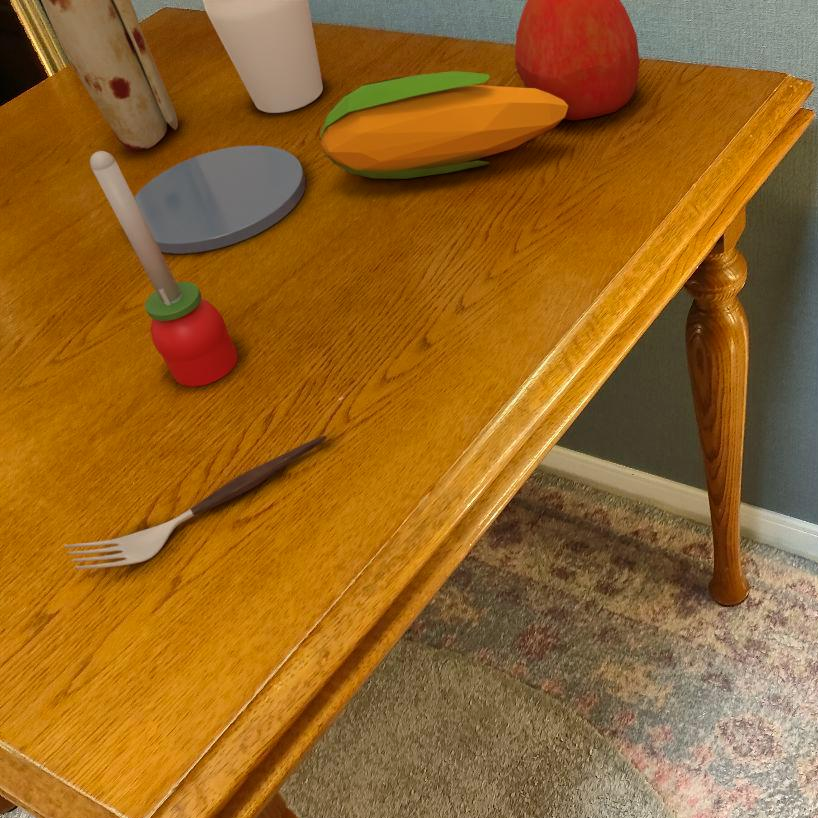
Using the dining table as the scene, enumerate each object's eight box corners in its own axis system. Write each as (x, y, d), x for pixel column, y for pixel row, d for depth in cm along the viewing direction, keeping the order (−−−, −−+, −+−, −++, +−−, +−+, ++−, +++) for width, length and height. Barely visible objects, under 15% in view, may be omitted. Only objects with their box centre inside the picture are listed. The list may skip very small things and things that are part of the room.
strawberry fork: (164, 391, 68) (44, 180, 56) (181, 346, 71) (71, 137, 59) (231, 383, 67) (125, 168, 56) (245, 338, 70) (147, 126, 59)
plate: (109, 264, 80) (103, 254, 79) (157, 168, 90) (152, 158, 89) (289, 240, 78) (285, 229, 77) (318, 145, 88) (315, 134, 87)
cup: (245, 129, 92) (192, -8, 83) (242, 89, 98) (192, -43, 89) (340, 105, 93) (297, -35, 84) (331, 66, 99) (290, -68, 90)
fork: (338, 453, 61) (328, 429, 59) (93, 592, 56) (76, 570, 55) (319, 432, 62) (309, 408, 61) (80, 565, 58) (62, 543, 56)
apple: (500, 114, 87) (477, -15, 79) (585, 65, 90) (571, -62, 82) (582, 146, 81) (565, 11, 73) (669, 93, 84) (662, -42, 77)
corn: (312, 69, 80) (560, 29, 78) (341, 155, 86) (572, 120, 84) (299, 119, 75) (562, 79, 73) (331, 206, 81) (575, 171, 79)
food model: (120, 122, 97) (8, -111, 83) (187, 106, 98) (87, -130, 83) (109, 169, 91) (-14, -74, 76) (181, 153, 91) (72, -94, 76)
